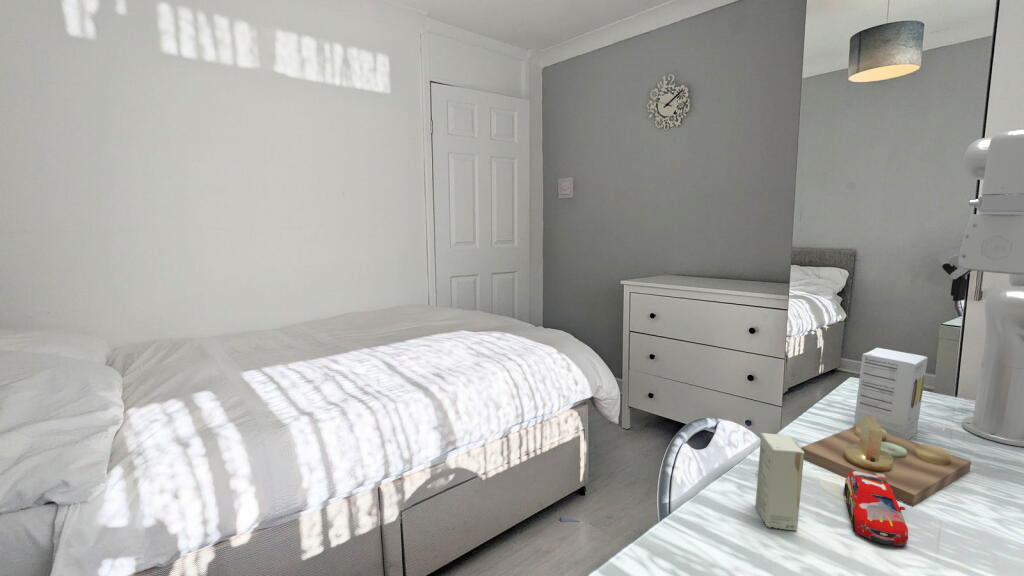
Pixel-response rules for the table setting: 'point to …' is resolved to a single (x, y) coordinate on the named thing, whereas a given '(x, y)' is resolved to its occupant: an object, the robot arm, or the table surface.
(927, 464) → the brown flat rectangular board
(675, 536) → the table surface
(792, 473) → the skincare box
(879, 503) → the race car
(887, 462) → the wing knob
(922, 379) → the supplement box
